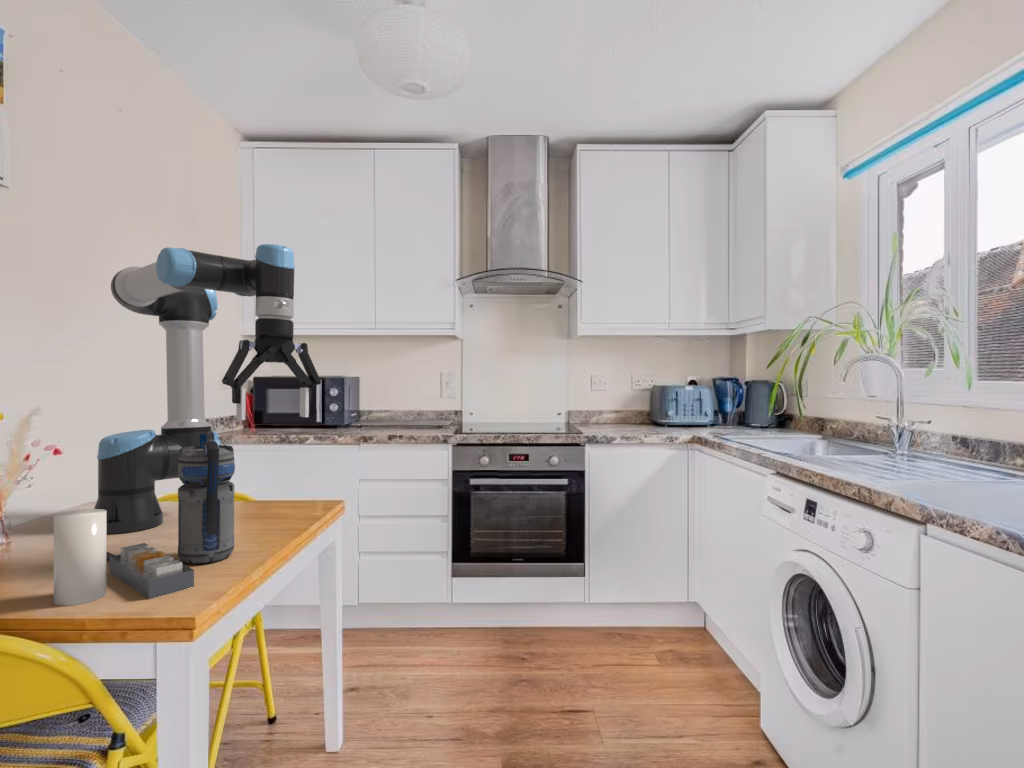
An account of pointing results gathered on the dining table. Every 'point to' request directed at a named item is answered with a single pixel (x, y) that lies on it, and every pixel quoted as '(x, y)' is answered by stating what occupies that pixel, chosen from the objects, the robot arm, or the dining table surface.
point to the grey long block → (150, 571)
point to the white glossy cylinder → (80, 556)
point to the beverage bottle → (205, 502)
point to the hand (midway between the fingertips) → (273, 418)
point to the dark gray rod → (108, 555)
